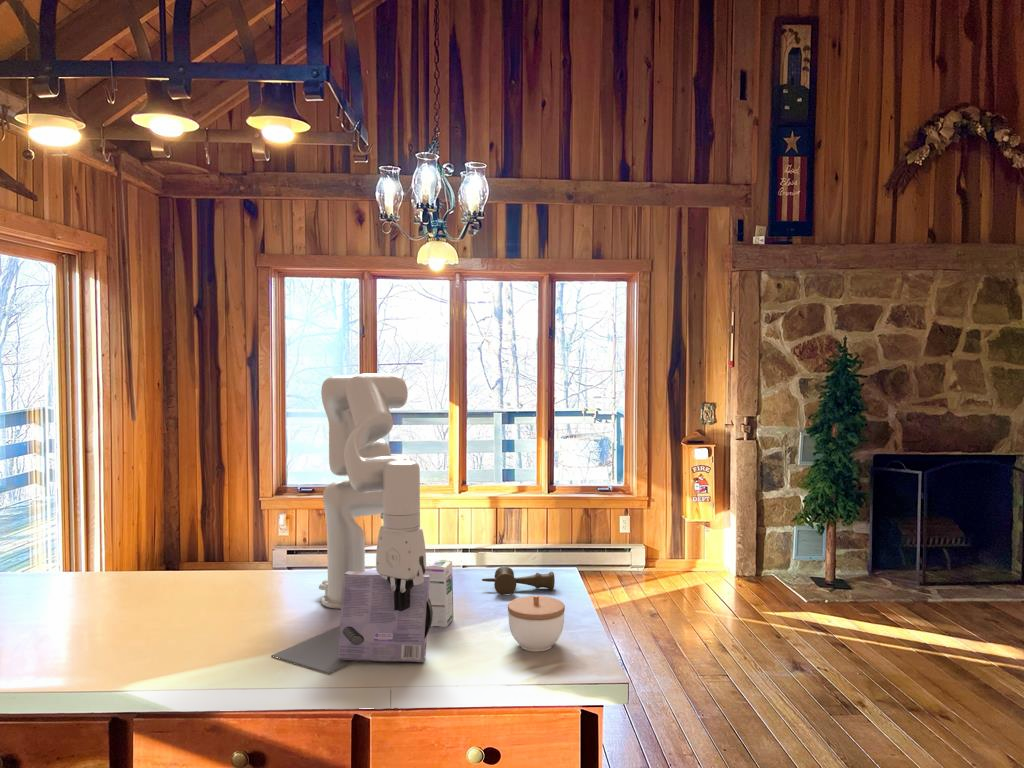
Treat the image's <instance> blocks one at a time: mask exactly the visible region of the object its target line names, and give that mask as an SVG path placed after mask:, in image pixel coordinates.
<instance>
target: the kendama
mask: <svg viewBox="0 0 1024 768" xmlns="http://www.w3.org/2000/svg"><path fill="white" fill-rule="evenodd" d="M481 581H482V582H493V583H494V584H493V585H494V590H495V591H496V593H497V594H499V595H500V596H504V595H503V594H511V595H512V594H514V592H515V591H516V589H517V584H521V585H525V586H532V587H535V589H537V590H538V589H540V588H546V589H548V590H549V591H553V590H554V588H555V573H554V572H553V571H549V572H548V573H545V574H543V573H539V572H536V573H535V574H532V575H527V576H526V575H525V576H521V577H520V576H519V577H515V573H514V570H513V569H512V568H511V567H509V566H500V567H498V568H496V570H495V573H494V578H492V577H491V578H490V577H489V578H481Z"/></svg>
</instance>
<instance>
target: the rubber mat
mask: <svg viewBox="0 0 1024 768" xmlns="http://www.w3.org/2000/svg"><path fill="white" fill-rule="evenodd" d="M339 628H340V625H338V626H336V627H334V628H332V629H329V630H326V631H324V632H322V633H320V634H317V635H315V636H313V637H311V638H308V639H306V640H303V641H302V642H298V643H296V644H294V645H291V646H290V647H287V648H285V649H282V650H280V651H277V652H276V653H273V654H271V657H272V656H274V657H278V658H280V659H283V660H285V661H284V662H287V661H288V662H287V663H290V662H291V663H290V664H293V663H295V664H294V665H296V664H298V665H297V666H300V667H303V666H304V668H306V667H307V668H306V669H309V670H312V671H313V670H314V671H316V672H319V673H323V674H326V675H332V674H333V673H336V672H338V671H339V670H341V669H343V668H346V667H347V666H349V665H351V664H353V663H355V662H357V661H359V660H339V659H338V657H337V653H338V642H339ZM280 659H279V660H280ZM283 660H282V661H283Z"/></svg>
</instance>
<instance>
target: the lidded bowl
mask: <svg viewBox="0 0 1024 768" xmlns="http://www.w3.org/2000/svg"><path fill="white" fill-rule="evenodd" d="M565 606H566V605H565V604H564V602H562V601H561V600H560V599H557V598H555V597H550V596H544V595H542V596H541V595H537V594H536V595H528V596H521V597H517V598H515V599H512V600H511V601H510V602H509V603H508V604H507V612H508V614H507V615H508V616H507V618H508V625H509V631H510V633H511V635H512V637H513V639H514V641H515V642H517V644H519V646H521V647H522V648H521V647H520V648H521V649H523V650H524V651H529V652H544V651H545V652H546V651H548V650H550V649H552V648H553V645H554V644H555V643H557V641H558V640H559V639H560V637H561V635H562V632H563V629H564V623H565V610H566V607H565Z"/></svg>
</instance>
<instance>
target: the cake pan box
mask: <svg viewBox="0 0 1024 768" xmlns="http://www.w3.org/2000/svg"><path fill="white" fill-rule="evenodd" d="M423 576H424V583H422V584H420V585H414V586H413V588H412V589H411V590H410V607H409V608H408V609H406V610H403V611H398V610H394V591H393V590H392V589H391V584H390V583H389V581H388V580H386V579H384V578H382V577H381V575H380V574H379V573H378V572H373V571H372V572H368V571H367V572H366V571H365V572H352V571H348V572H346V573H344V579H343V592H342V604H341V609H340V616H339V617H340V618H339V626H340V628H339V642H338V653H337V657H338V659H339V660H358V661H370V662H413V663H414V662H416V663H424V661H425V659H426V653H427V641H428V633H429V632H430V630H431V628H432V626H431V624H432V617H433V611H432V605H431V602H430V599H429V587H430V575H423ZM407 581H408V580H407Z"/></svg>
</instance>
